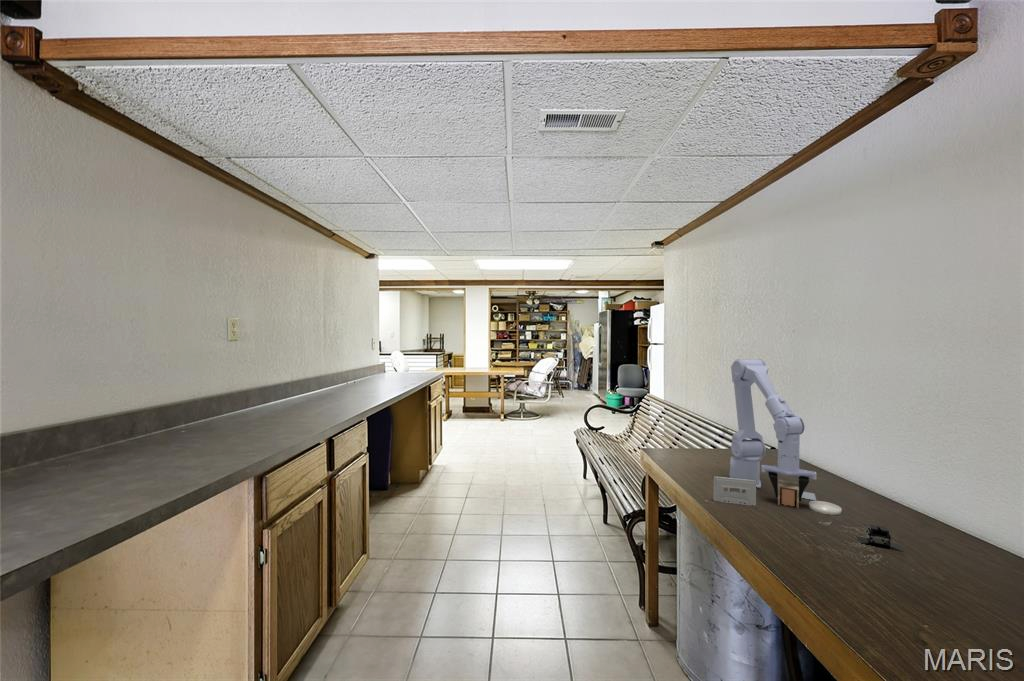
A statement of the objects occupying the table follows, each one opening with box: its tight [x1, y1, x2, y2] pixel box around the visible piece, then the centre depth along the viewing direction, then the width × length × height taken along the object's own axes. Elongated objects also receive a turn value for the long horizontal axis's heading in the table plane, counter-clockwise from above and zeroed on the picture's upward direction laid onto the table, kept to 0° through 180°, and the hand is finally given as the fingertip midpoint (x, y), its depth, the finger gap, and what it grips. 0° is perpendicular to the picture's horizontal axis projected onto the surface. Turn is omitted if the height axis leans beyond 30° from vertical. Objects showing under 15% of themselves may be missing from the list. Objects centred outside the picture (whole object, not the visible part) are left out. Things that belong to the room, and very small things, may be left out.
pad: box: [801, 491, 817, 501], centre depth 145 cm, size 7×7×1 cm
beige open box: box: [777, 479, 800, 509], centre depth 138 cm, size 5×6×6 cm
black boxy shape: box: [855, 523, 906, 553], centre depth 111 cm, size 12×7×5 cm, turn 62°
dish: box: [808, 500, 842, 516], centre depth 133 cm, size 8×8×1 cm
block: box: [780, 487, 796, 507], centre depth 138 cm, size 3×3×5 cm
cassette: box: [712, 475, 757, 507], centre depth 138 cm, size 12×2×8 cm, turn 70°
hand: (787, 498), depth 138 cm, fingers closed on beige open box, 5 cm apart
